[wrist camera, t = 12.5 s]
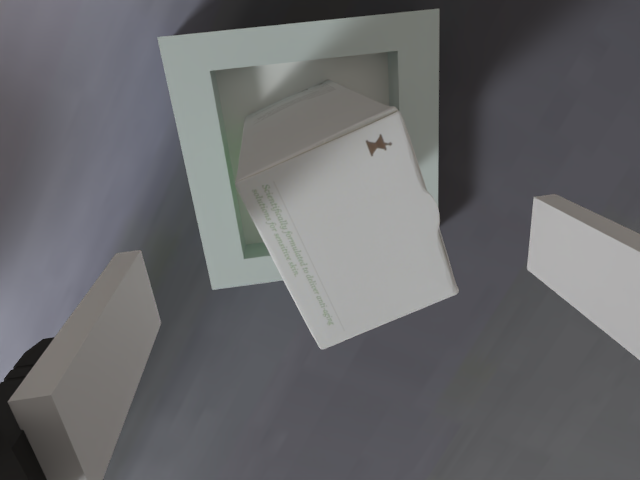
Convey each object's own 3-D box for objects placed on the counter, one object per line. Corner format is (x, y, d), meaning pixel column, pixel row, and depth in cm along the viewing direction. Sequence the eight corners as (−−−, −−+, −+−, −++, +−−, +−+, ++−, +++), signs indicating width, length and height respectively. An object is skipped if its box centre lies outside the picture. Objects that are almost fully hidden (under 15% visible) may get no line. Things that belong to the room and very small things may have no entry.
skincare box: (243, 115, 29) (218, 173, 15) (337, 73, 29) (404, 93, 15) (294, 224, 33) (314, 359, 18) (379, 189, 32) (467, 297, 18)
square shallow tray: (217, 267, 34) (212, 289, 31) (170, 39, 28) (157, 37, 25) (422, 240, 35) (437, 259, 32) (420, 13, 29) (439, 8, 26)
